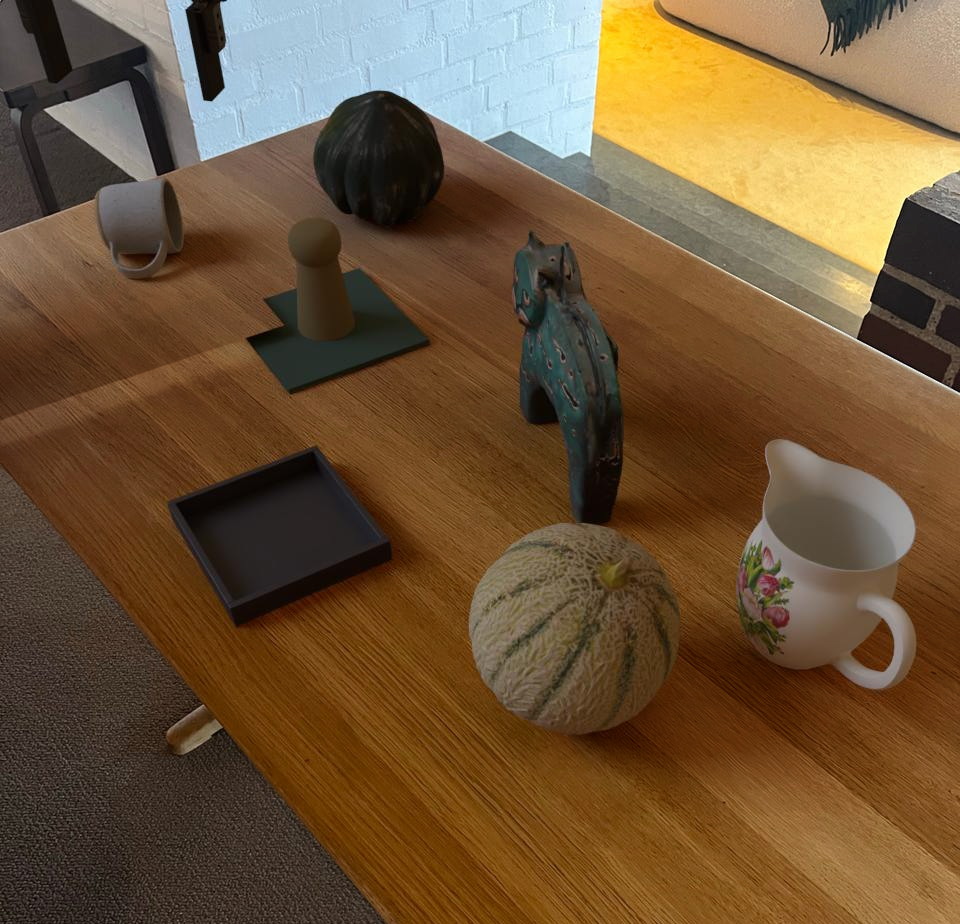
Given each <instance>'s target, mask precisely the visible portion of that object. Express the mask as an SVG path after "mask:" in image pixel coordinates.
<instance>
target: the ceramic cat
mask: <svg viewBox="0 0 960 924" xmlns="http://www.w3.org/2000/svg"><path fill="white" fill-rule="evenodd" d="M528 232H529V233H528V234H527V236H528V238H527V239H528V240H527V242H526V244H525V246H523V247H522V248H520V249H518V250H517V251H516V253H515V256H514V261H513V275H512V277H513V279H512V280H513V282H512V287H511V301H512V306H513V307H512V308H513V311H514V313H515V314H516V315H517V317H518V323H519V324H520V325H522V326H523V327H524V328H525V329H524V333H523V340H522V346H521V358H520V364H519V371H518V373H519V408H520V410H521V412H522V415H523V416H524V418H525V421H526V422H527V423H529V424H535V425H538V424H547V423H551V422H555V421H558V422H559V426H560V430H561V433H562V438H563V443H564V448H565V452H566V453H565V454H566V456H567V463H568V484H569V485H568V487H569V502H570V510H571V514H572V516H573V518H574V520H575V521H576V523H586V524H594V525H596V524H599V523H608V522H611V519H612V517H613V516H612V515H613V512H614V511H613V510H614V507H615V503H616V501H617V497H618V492H619V486H620V482H621V476H622V471H623V465H624V433H625V432H624V431H625V430H624V427H625V425H624V410H623V403H622V396H621V395H622V394H621V390H620V389H621V386H620V382H619V379H618V378H619V377H618V375H619V358H620V357H619V347H618V345H617V344H618V343H616V342H615V340H614V339H613V337H612V336H611V335H610V334H609V333H608V331H607V330H606V328H605V326H603V324H602V321H601V319H600V317H599V315H598V314H597V312H596V311H595V309H594V308H593V306H592V305H591V304H590V303H589V301H588V299H587V296H586V293H585V290H584V287H583V281H582V276H581V269H580V265H579V261H578V258H577V255H576V252H575V251H574V250H573V248H572V247H571V245H570V243H569V242H567V241H563V242H562V244H558V243H557V244H556V243H554V244H553V243H551V244H545V243H544V242H543V241H542V240H541V239H539V237H538V236H537V235H536V234H535V232H534V230H531V229H528Z"/></svg>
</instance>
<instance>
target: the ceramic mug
mask: <svg viewBox="0 0 960 924" xmlns="http://www.w3.org/2000/svg"><path fill="white" fill-rule="evenodd" d="M93 206H94V207H93V208H94V217H95V222H96V227H97V230H98V233H99V236H100V238H101V241H102V242H103V244H104V246H105V248H107V250H109V251H110V257H111V259H112V262H113V264H114V266H115V267H116V269H117V270H118V272H119V273H120V274H121V275H123V276H125V277H126V278H130V279H134V278H135V280H139V278H144V279H147V278H150V277H152V276H155V274H157V273H158V272H159V271H160V270H161V269H162V268H163V266H164V264H165V261H166V259H167V254H178V253H180V252H182V250H183V247H184V239H185V238H184V236H185V235H184V222H183V217H182V212H181V208H180V203H179V200H178V197H177V194H176V191H175V188H174V186H173V184H172V183H171V182H170V180H169V179H168V178H163V177H162V178H161V177H160V178H154V179H148V180H141V181H140V180H139V181H133V182H125V183H123V182H122V183H116V184H115V183H114V184H110V185H106V186H104V187H101V188H100V189H98V190H97V192H96V194H95V197H94V204H93ZM141 254H149V255H150V254H151V255H152V254H154V255H155V257H154V258H153V259H152V261H151V262H150V263H148V264H147V265H146V266H144V267H141V268H138V269H137V268H131V267H126V266H125V265H123V264H121V263H120V262H119V261H120V260H119V255H141Z"/></svg>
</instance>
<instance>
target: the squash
mask: <svg viewBox="0 0 960 924" xmlns="http://www.w3.org/2000/svg"><path fill="white" fill-rule="evenodd" d="M314 144H315V145H314V150H313V154H312V155H313V156H312V163H313V168H314V173H315V176H316V179H317V182H318V184H319V186H320V188H321V189H322V190H323V192H324V193H325V194H326V195H327V196H328V198H329V199H330V200H331V202H332V204H333V205H334V206H335V208H336V209H337V210H338V211H339V212H341V213H343V214H344V215H349V216H350V215H354V216H356V217H357V218H358V219H360V220H369V219H370V218H372V219H373V221H374V222H375V223H376V224H378V225H379V226H382V227H385V228H389V227H391V226H393V225H394V224H395V223H396V222H397V221H400V222H403V223H404V222H407V223H408V222H411V221H413V220H415V219H416V218H417V217H418V216H419V214H420V213H421V212H422V211H423V209H424V208H425V207H426V206H428V205H429V204H430V203H431V202H432V200H434V198H435V197H436V195H437V194H438V192H439V190H440V188H441V186H442V184H443V180H444V178H445V177H444V176H445V161H444V155H443V151H442V147H441V144H440V142H439V139H438V135H437V131H436V128H435V126H434V124H433V122H432V120H431V119H430V117H429V116H428V115H427V114H426V113H425V111H424V110H423V109H421V108H420V107H419V106H418V105H417V104H415V103H413V102H412V101H410V99H407V98H406V97H403V96H401V95H400V94H397V93H395V92H392V91H390V90H380V89H378V90H371V91H367V92H365V93H361V94H359V95H355V96H350V97H347V98H346V99H344V100H343V101H341V102H340V103H339V104H338V105H337V106H336V107H335V108H334V110H333V111H332V112H331V114H330V116H329V117H328V120H327V121H326V124H325V125H324V126H323V128H322V129H321V131H320V132H319V134H318V135H317V138H316V142H315V143H314Z"/></svg>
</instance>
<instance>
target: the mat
mask: <svg viewBox="0 0 960 924" xmlns="http://www.w3.org/2000/svg"><path fill="white" fill-rule="evenodd" d="M342 274H343V278H344V282H345V286H346V289H347V293H348V297H349V301H350V304H351V308H352V312H353V316H354V319H355V326H354V328H353V330H352V331H351V332H350V333H349V334H348V335H346V336H344V337H342V338H340V339H336V340H332V341H315V340H311V339H308V338H306V337H304V336H303V335H302V334H300V332H299V330H298V316H297V287H296V288H293V289H290V290H286V291H284V292H280V293H277V294H274V295H271V296H267V297H264V298H262V301H263V302H264V303H265V304H266V305H267V307H268V308H269V309H270V310H271V311H272V313H273V314H274V315H275V316H276V317H277V318H278V320H279V321H280V322H281V323H282V325H280V326H277V327H274V328H271V329H268V330H265V331H263V332H259V333H256V334H253V335H250V336H247V337H245V340H246V341H247V343H248V344H249V345H250V346H251V347H252V349H253V350H254V351H255V353H256V354H257V355H258V356H259V358H260V359H261V360H262V361H263V363H264V364H265V366H266V367H267V368H268V369H269V370H270V372H271V373H272V374H273V375H274V377H275V378H276V379H277V381H278V382H279V383H280V384H281V386H282V387H283V388H284V390H285V391H286V393H288V394H289V395H291V394H294V393H296V392H299V391H302V390H305V389H308V388H310V387H314V386H317V385H318V384H319V385H320V384H321V383H324V382H328V381H330V380H333V379H336V378H339V377H341V376H344V375H347V374H350V373H352V372H355V371H358V370H361V369H363V368H367V367H369V366H372V365H375V364H377V363H381V362H383V361H386V360H389V359H392V358H395V357H397V356H400V355H403V354H406V353H408V352H412V351H414V350H417V349H420V348H423V347H425V346H428V345H430V344H431V340H430V338H429V337H428V336H427V335H426V334H425V333H424V332H423V331H422V330H421V329H420V328H419V327H418V326H417V325H416V324H415V323H414V322H413V321H412V320H411V319H410V318H409V317H408V316H407V315H406V313H404V312H403V311H402V310H401V308H399V306H398V305H396V303H394V301H393V300H392V299H391V298H389V296H387V294H386V293H385V292H384V291H383V290H382V289H381V288H380V287H379V286H378V285H377V284H376V283H375V282H374V281H373V280H372V279H371V278H370V277H369V276H368V274H366V273H365V271H363V270H362V269H361V268H360V267H358V268H355V269H352V270H349V271H346V272H342Z"/></svg>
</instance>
